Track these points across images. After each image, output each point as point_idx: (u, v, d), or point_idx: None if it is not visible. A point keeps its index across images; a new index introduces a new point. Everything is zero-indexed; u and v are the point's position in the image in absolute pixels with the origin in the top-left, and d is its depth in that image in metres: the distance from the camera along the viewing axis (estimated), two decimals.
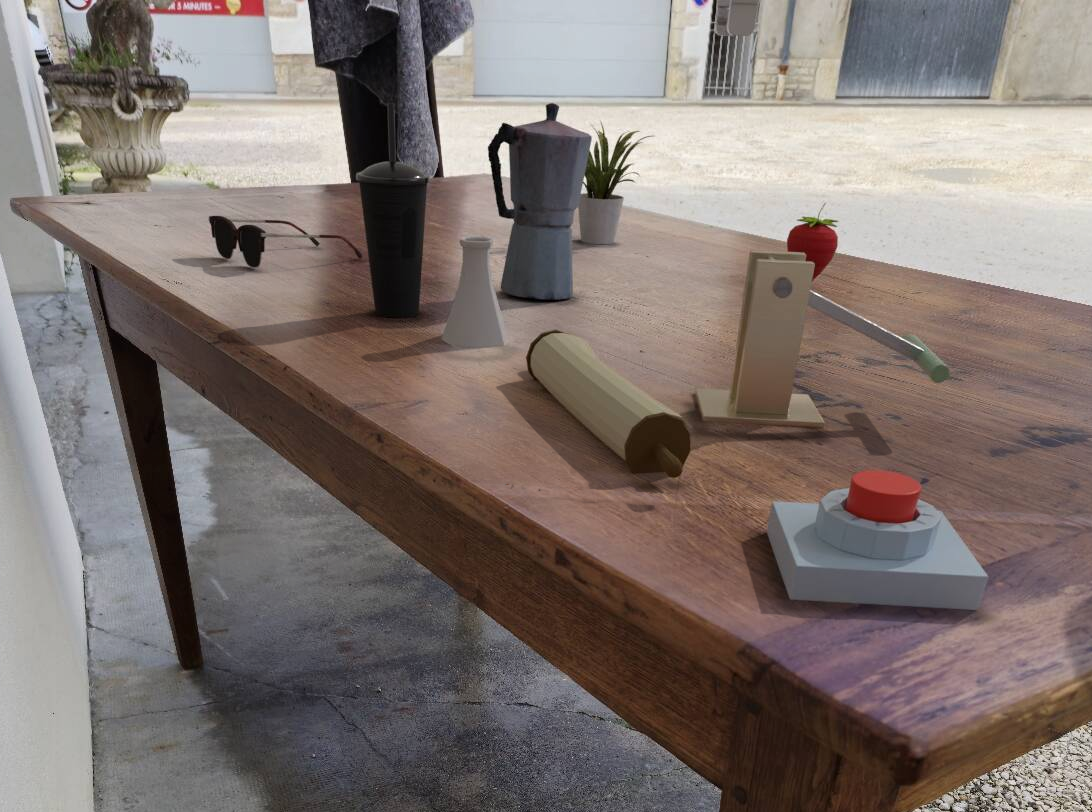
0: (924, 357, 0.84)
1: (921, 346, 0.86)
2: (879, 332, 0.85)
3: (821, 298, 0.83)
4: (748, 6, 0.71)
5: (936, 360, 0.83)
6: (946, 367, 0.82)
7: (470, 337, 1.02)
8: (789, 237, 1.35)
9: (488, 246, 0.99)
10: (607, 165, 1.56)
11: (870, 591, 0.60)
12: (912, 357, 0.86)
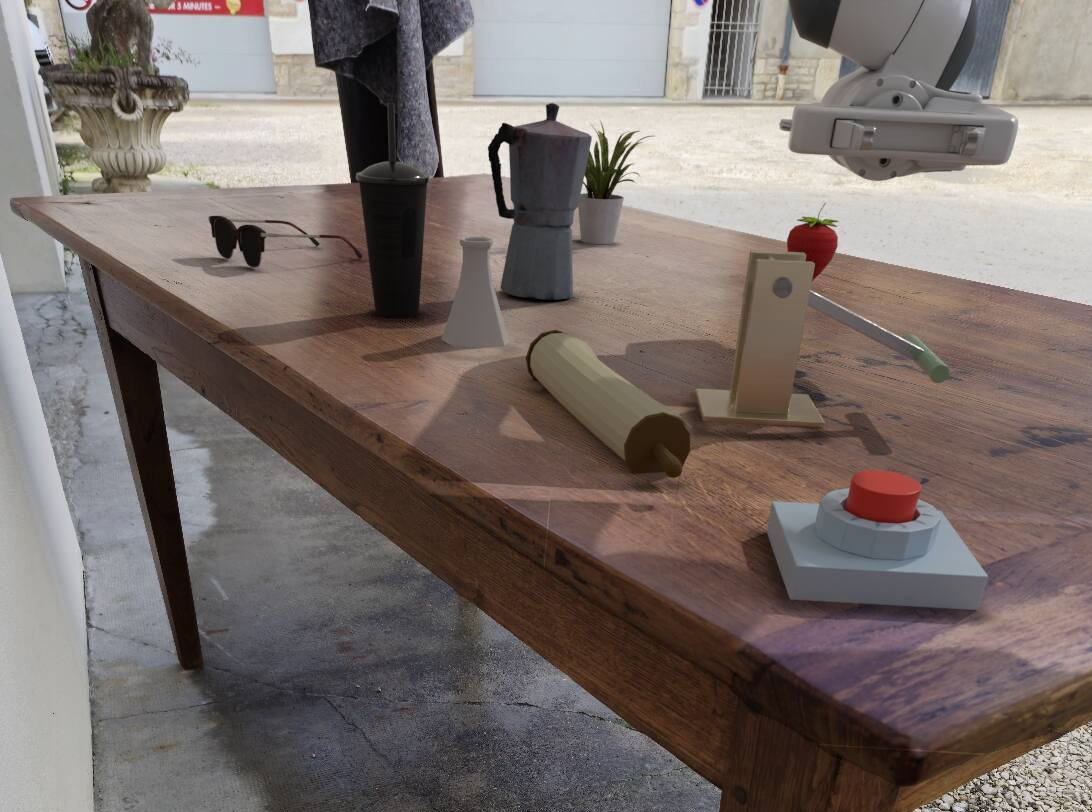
0: (924, 357, 0.84)
1: (921, 346, 0.86)
2: (879, 332, 0.85)
3: (821, 298, 0.83)
4: (852, 132, 0.91)
5: (936, 360, 0.83)
6: (946, 367, 0.82)
7: (470, 337, 1.02)
8: (789, 237, 1.35)
9: (488, 246, 0.99)
10: (607, 165, 1.56)
11: (870, 591, 0.60)
12: (912, 357, 0.86)
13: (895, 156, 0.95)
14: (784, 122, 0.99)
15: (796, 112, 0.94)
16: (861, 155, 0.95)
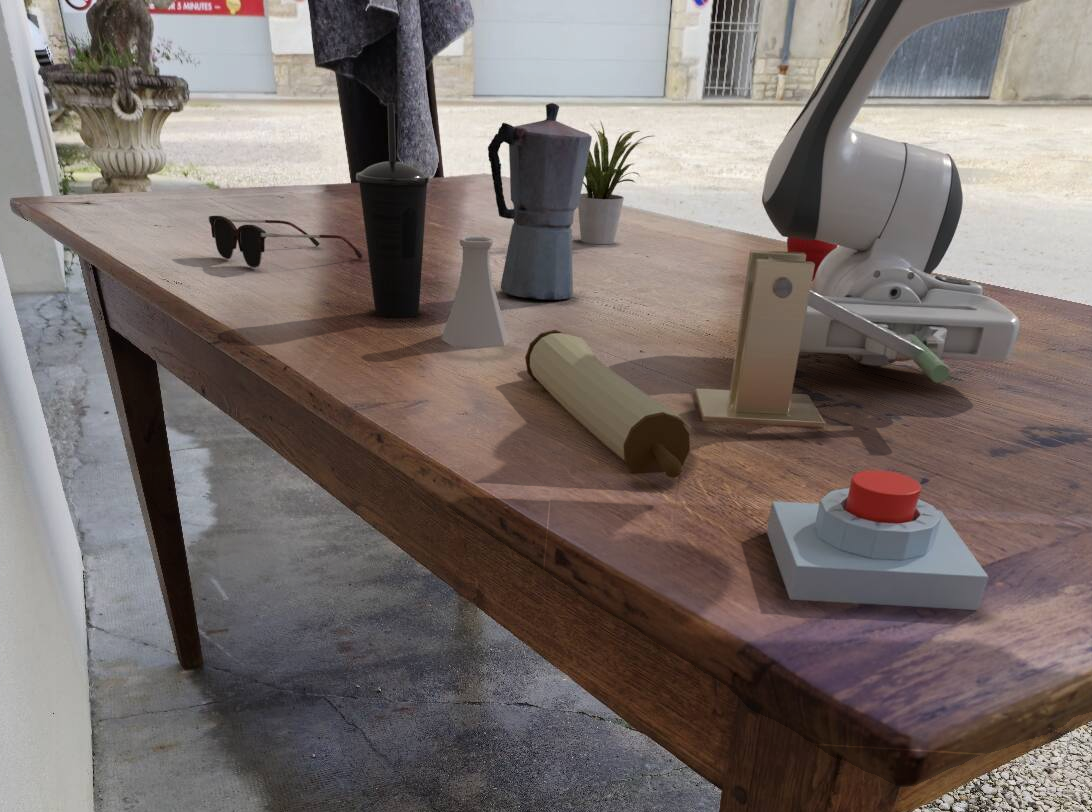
0: (924, 357, 0.84)
1: (921, 346, 0.86)
2: (879, 332, 0.85)
3: (821, 298, 0.83)
4: None
5: (936, 360, 0.83)
6: (946, 367, 0.82)
7: (470, 337, 1.02)
8: (789, 237, 1.35)
9: (488, 246, 0.99)
10: (607, 165, 1.56)
11: (870, 591, 0.60)
12: (912, 357, 0.86)
13: None
14: None
15: None
16: (858, 354, 0.93)
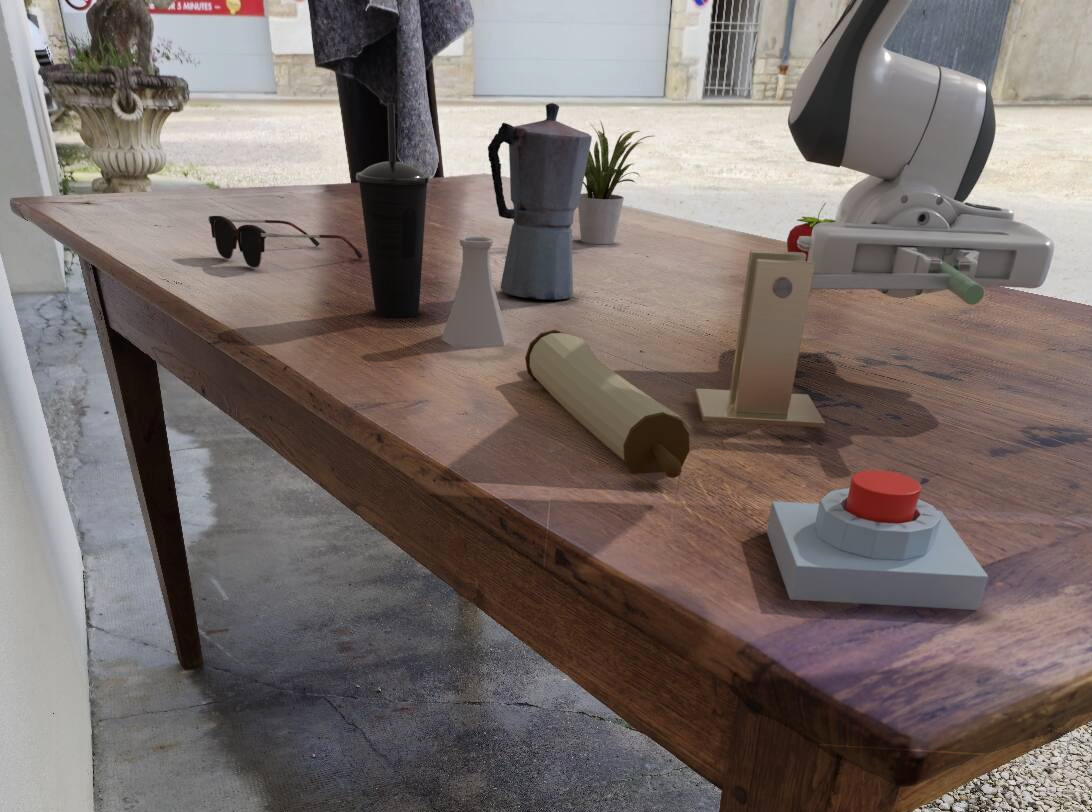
0: (954, 282, 0.81)
1: (948, 271, 0.83)
2: (898, 280, 0.82)
3: (826, 277, 0.82)
4: (917, 263, 0.85)
5: (965, 282, 0.79)
6: (977, 286, 0.78)
7: (470, 337, 1.02)
8: (789, 237, 1.35)
9: (488, 246, 0.99)
10: (607, 165, 1.56)
11: (870, 591, 0.60)
12: (943, 287, 0.82)
13: None
14: (802, 241, 0.93)
15: (816, 237, 0.88)
16: None
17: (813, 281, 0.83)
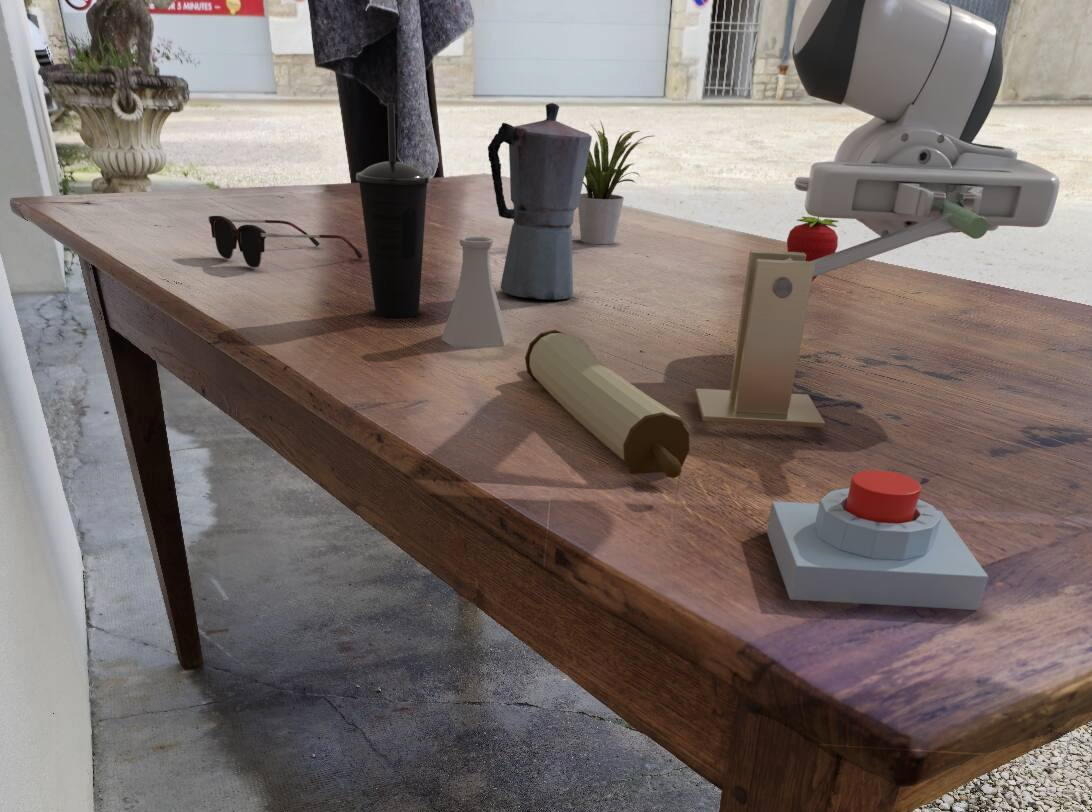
0: (956, 221, 0.79)
1: (949, 210, 0.81)
2: (898, 238, 0.81)
3: (824, 260, 0.82)
4: (919, 198, 0.83)
5: (966, 218, 0.77)
6: (979, 219, 0.76)
7: (470, 337, 1.02)
8: (789, 237, 1.35)
9: (488, 246, 0.99)
10: (607, 165, 1.56)
11: (870, 591, 0.60)
12: (947, 228, 0.80)
13: (924, 219, 0.86)
14: (800, 181, 0.90)
15: (814, 173, 0.86)
16: (886, 219, 0.87)
17: None
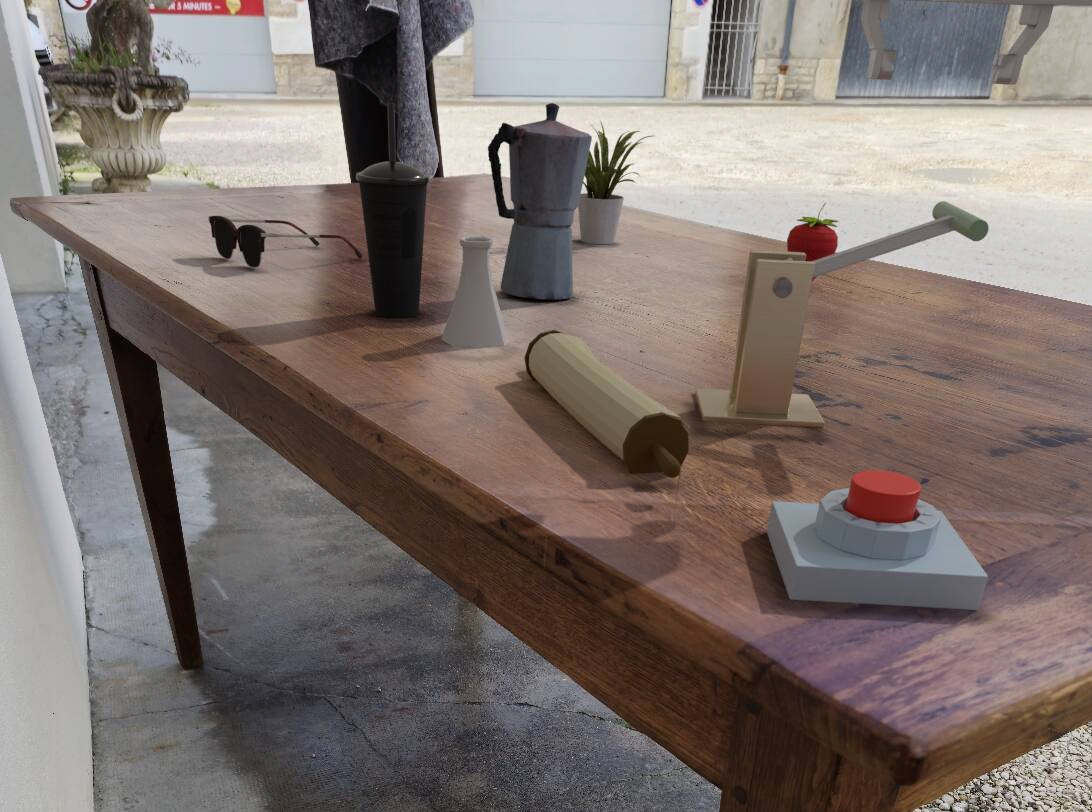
0: (956, 223, 0.79)
1: (949, 213, 0.81)
2: (898, 240, 0.81)
3: (824, 261, 0.82)
4: (873, 51, 0.73)
5: (967, 221, 0.77)
6: (979, 221, 0.76)
7: (470, 337, 1.02)
8: (789, 237, 1.35)
9: (488, 246, 0.99)
10: (607, 165, 1.56)
11: (870, 591, 0.60)
12: (947, 230, 0.80)
13: (943, 0, 0.73)
14: None
15: None
16: None
17: None
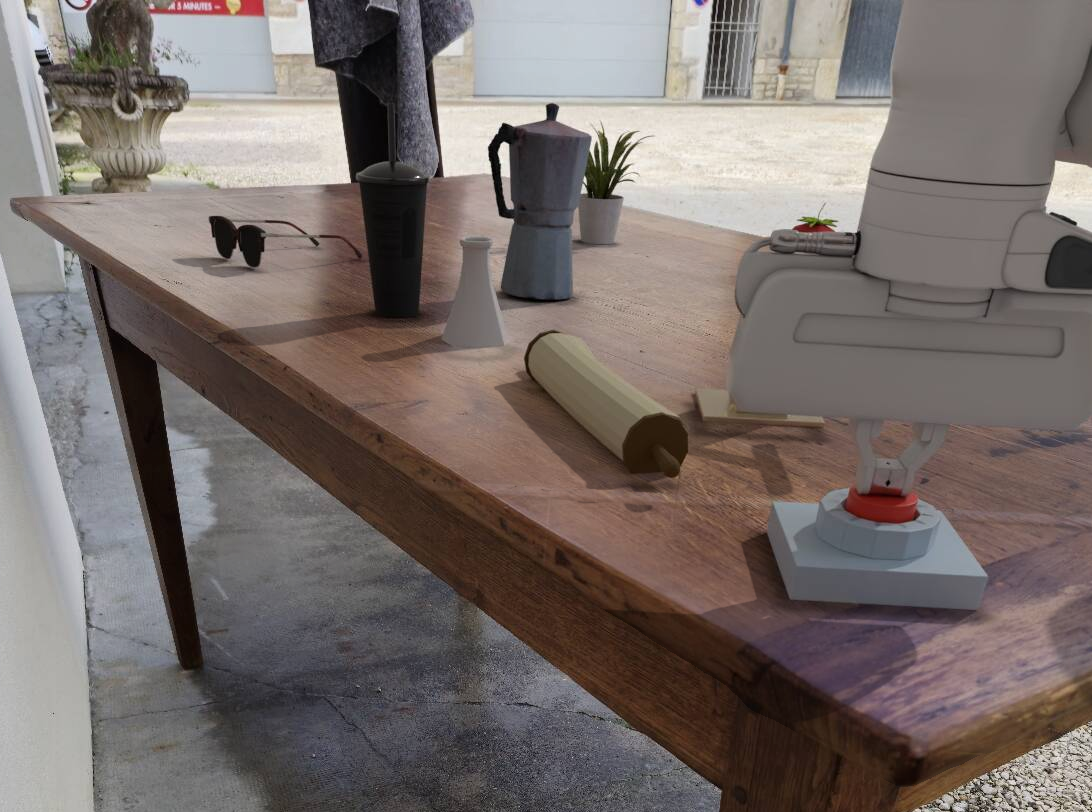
0: None
1: None
2: None
3: None
4: (863, 465, 0.61)
5: None
6: None
7: (470, 337, 1.02)
8: None
9: (488, 246, 0.99)
10: (607, 165, 1.56)
11: (870, 591, 0.60)
12: None
13: None
14: (738, 300, 0.56)
15: (730, 392, 0.58)
16: None
17: None
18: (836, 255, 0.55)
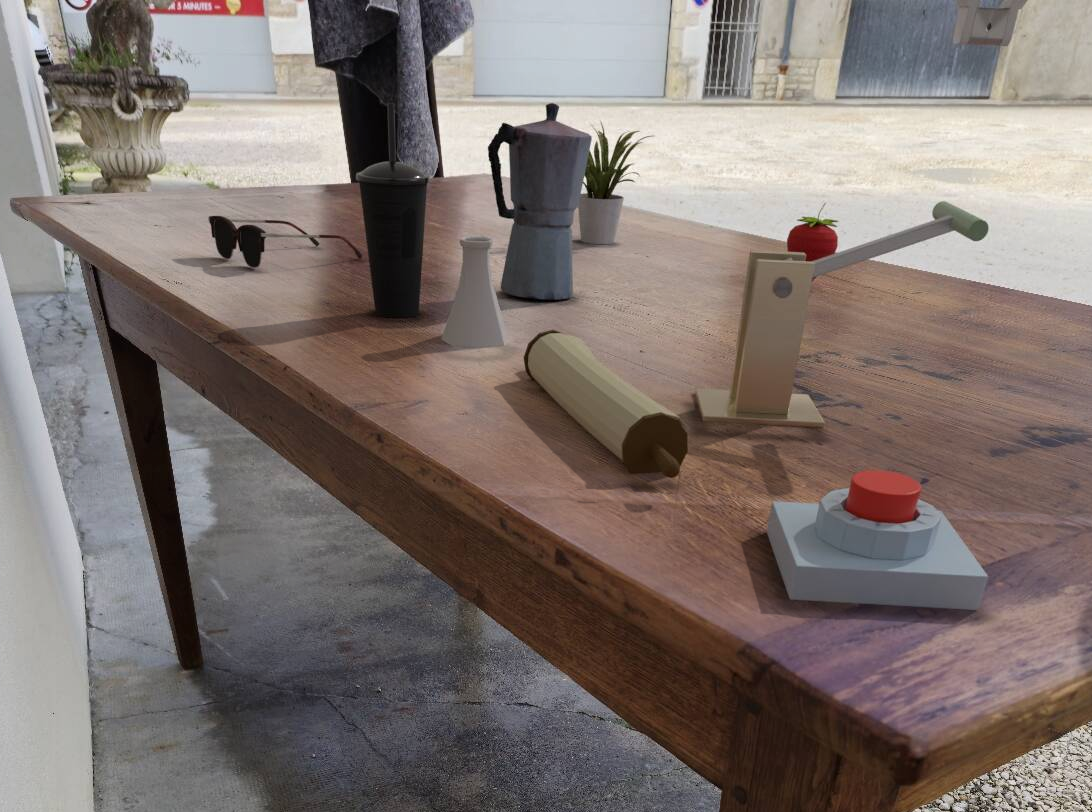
0: (956, 223, 0.79)
1: (949, 213, 0.81)
2: (898, 240, 0.81)
3: (824, 261, 0.82)
4: (963, 9, 0.61)
5: (967, 221, 0.77)
6: (979, 221, 0.76)
7: (470, 337, 1.02)
8: (789, 237, 1.35)
9: (488, 246, 0.99)
10: (607, 165, 1.56)
11: (870, 591, 0.60)
12: (947, 230, 0.80)
13: None
14: None
15: None
16: None
17: None
18: None
